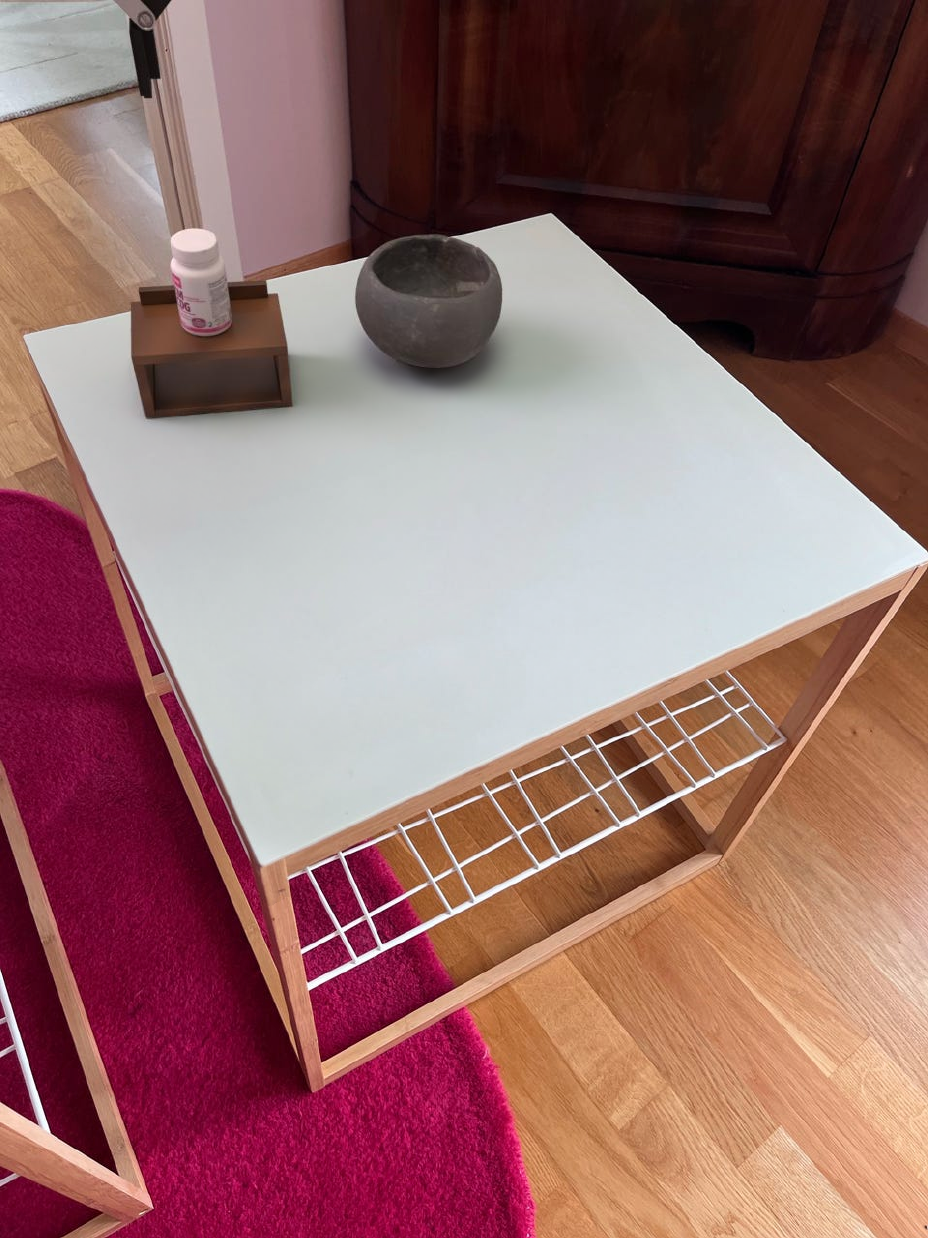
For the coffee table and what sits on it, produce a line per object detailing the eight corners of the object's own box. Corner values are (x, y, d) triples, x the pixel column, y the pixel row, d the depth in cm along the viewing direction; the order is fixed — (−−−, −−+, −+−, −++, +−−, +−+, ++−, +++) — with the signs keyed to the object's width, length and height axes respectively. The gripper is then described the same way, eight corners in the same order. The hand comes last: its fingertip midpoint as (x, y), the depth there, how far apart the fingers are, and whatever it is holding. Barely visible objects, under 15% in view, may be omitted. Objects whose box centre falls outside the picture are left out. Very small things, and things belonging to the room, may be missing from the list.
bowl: (383, 301, 107) (383, 215, 99) (510, 329, 105) (521, 244, 97) (335, 374, 97) (331, 286, 90) (474, 407, 95) (483, 319, 88)
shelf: (145, 418, 91) (127, 341, 84) (144, 363, 96) (127, 287, 90) (292, 406, 94) (286, 331, 87) (283, 353, 99) (276, 278, 93)
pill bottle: (170, 327, 89) (154, 242, 82) (202, 303, 92) (188, 220, 85) (211, 343, 88) (198, 258, 81) (242, 319, 90) (232, 235, 84)
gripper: (-216, -260, 45) (-82, 119, 58) (163, -241, 48) (209, 113, 61) (-184, -286, 49) (-67, 70, 62) (159, -268, 53) (203, 66, 66)
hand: (70, 91), depth 62 cm, fingers open, 9 cm apart
